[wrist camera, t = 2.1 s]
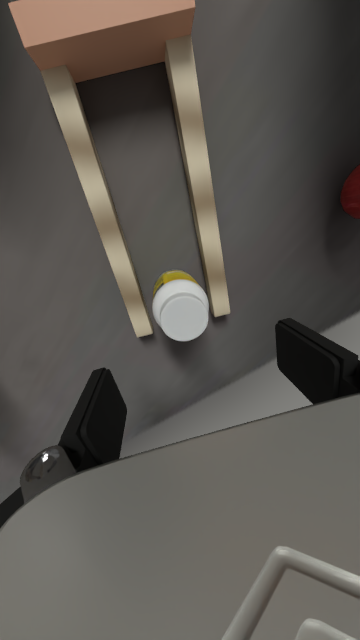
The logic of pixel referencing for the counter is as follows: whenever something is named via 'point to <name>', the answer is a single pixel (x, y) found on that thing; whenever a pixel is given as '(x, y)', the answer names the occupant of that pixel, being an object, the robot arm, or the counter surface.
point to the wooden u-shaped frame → (60, 77)
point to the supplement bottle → (180, 305)
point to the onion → (352, 194)
